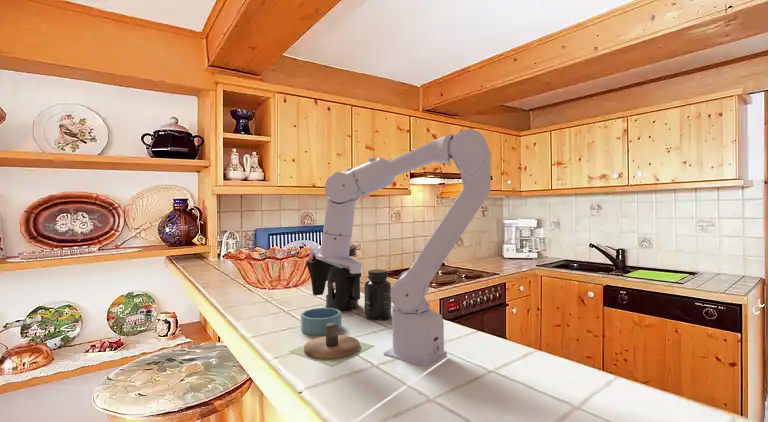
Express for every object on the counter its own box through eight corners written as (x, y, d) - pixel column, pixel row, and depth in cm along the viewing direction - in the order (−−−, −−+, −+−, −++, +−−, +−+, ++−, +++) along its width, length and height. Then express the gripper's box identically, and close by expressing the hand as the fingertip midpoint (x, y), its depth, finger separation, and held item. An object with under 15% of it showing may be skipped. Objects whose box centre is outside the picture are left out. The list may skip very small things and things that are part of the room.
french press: (316, 307, 110) (315, 226, 109) (341, 300, 117) (340, 224, 116) (345, 314, 102) (344, 227, 101) (370, 307, 109) (368, 225, 108)
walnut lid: (370, 345, 79) (370, 322, 79) (332, 364, 70) (331, 338, 70) (332, 335, 85) (331, 313, 85) (292, 351, 77) (291, 327, 77)
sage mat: (374, 347, 79) (374, 345, 79) (332, 367, 69) (332, 366, 69) (332, 335, 86) (332, 334, 86) (288, 352, 77) (288, 351, 77)
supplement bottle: (359, 319, 98) (358, 272, 98) (373, 312, 104) (372, 267, 104) (383, 323, 95) (383, 273, 94) (396, 315, 101) (395, 269, 100)
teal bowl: (348, 328, 91) (348, 311, 91) (320, 339, 84) (320, 321, 84) (321, 321, 97) (321, 305, 97) (293, 331, 90) (293, 314, 89)
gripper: (300, 227, 80) (292, 291, 81) (344, 240, 70) (334, 314, 70) (328, 228, 85) (320, 288, 86) (372, 240, 75) (363, 309, 75)
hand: (328, 300), depth 78 cm, fingers open, 7 cm apart
